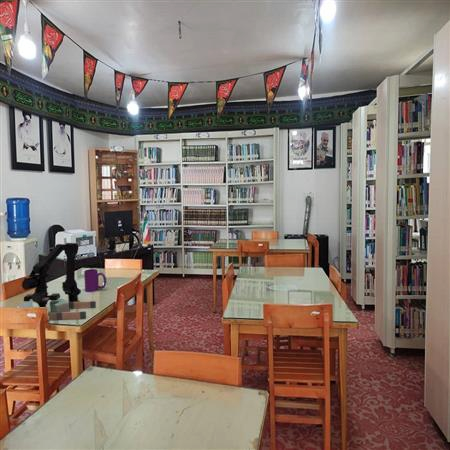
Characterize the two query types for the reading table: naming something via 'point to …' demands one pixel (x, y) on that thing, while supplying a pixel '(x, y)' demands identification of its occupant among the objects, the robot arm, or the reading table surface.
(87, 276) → the mug
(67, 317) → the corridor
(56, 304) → the box
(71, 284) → the robot arm
